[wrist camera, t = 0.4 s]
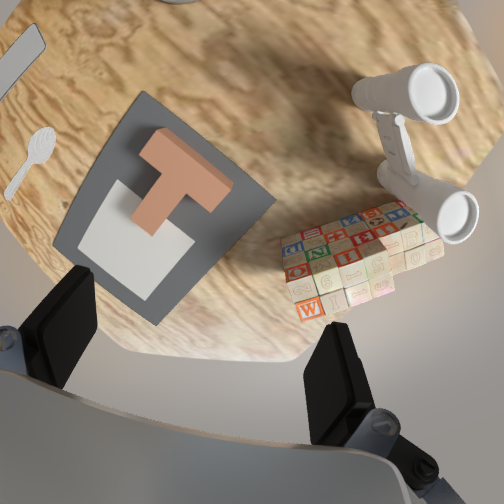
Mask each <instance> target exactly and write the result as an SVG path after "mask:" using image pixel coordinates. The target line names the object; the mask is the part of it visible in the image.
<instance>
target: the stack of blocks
mask: <svg viewBox="0 0 504 504" xmlns="http://www.w3.org/2000/svg"><path fill="white" fill-rule="evenodd" d="M281 245H282V254H283V268H284V272H285V276H286V284H287V286H288V289H289V292H290V294H291V297H292V300H293V302H294V303H295V307H296V310H297V312H298V315H299V317H300V320H301V322H304V321H307V320H310V319H313V318H317V317H320V316H323V315H329V314H333V313H335V312H338V311H341V310H344V309H347V308H349V307H353V306H356V305H358V304H361V303H364V302H366V301H369V300H371V299H372V298H376V297H379V296H382V295H385V294H387V293H389V292H392V291H394V290H395V288H394V283H393V277H392V276H394V275H396V274H399V273H401V272H404V271H408V270H411V269H414V268H416V267H419V266H421V265H424V264H425V263H427V262H430V261H433V260H435V259H438V258H440V257H443V256H444V246H443V240H442V239H441V238H440V237H439V236H438V235H437V234H436V233H435V232H434V231H433V230H431V229H430V228H429V227H428V226H427V225H426V224H425V223H424V221H423V220H422V219H421V217H420V216H419V215H418V213H417V212H416V211H415V210H413V209H412V208H410V207H408V206H407V205H406V204H405V203H404V202H403V201H401V200H399V201H396V202H391V203H388V204H385V205H382V206H379V207H376V208H372V209H369V210H366V211H363V212H360V213H359V214H355V215H352V216H349V217H346V218H343V219H340V220H338V221H335V222H332V223H329V224H326V225H323V226H318V227H315V228H312V229H309V230H306V231H303V232H300V233H296V234H293V235H290V236H287V237H284V238H281Z"/></svg>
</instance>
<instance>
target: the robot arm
mask: <svg viewBox="0 0 504 504" xmlns="http://www.w3.org/2000/svg"><path fill="white" fill-rule="evenodd" d="M161 1H164V2H167V3H172V4H187V3H193V2H197V1H200V0H161ZM96 330H97V313H96V301H95V287H94V274H93V273H92V272H91V270H90V268H88V267H85V266H81V265H75V266H74V267H73V268H72V269H71V270H70V271H69V272H68V273H67V274H66V275H65V276H64V277H63V278H62V280H61V281H60V282H59V283H58V284H57V285H56V286H55V287H54V288H53V289H52V290H51V291H50V293H49V294H48V295H47V296H46V297H45V298H44V299H43V300H42V302H41V303H40V304H39V305H38V306H37V307H36V308H35V309H34V311H33V312H32V313H31V314H30V315H29V316H28V318H27V319H26V320H25V321H24V322H23V324H22V325H21V326H20V327H19V329H18V330H17V329H16V328H14V327H12V326H1V327H0V504H466V503H465V502H464V501H463V500H462V499H461V498H460V496H459V495H458V494H457V493H456V492H455V490H454V489H453V488H452V487H451V486H450V485H449V483H448V482H447V481H446V480H445V479H444V478H441V479H440V478H439V477H438V474H439V468H438V465H437V462H436V461H435V459H433V458H432V457H431V456H430V455H428V454H427V453H425V452H424V451H422V450H421V449H420V448H418V447H417V446H415V445H414V444H413V443H411V442H410V441H408V440H407V439H405V438H404V437H402V436H401V435H400V430H401V425H400V422H399V420H398V418H397V417H396V416H395V415H394V414H393V413H392V412H391V411H389V410H386V409H383V408H376V407H375V404H374V400H373V397H372V394H371V390H370V387H369V384H368V381H367V378H366V374H365V371H364V368H363V365H362V362H361V360H360V358H358V355H357V352H356V349H355V346H354V343H353V340H352V336H351V334H350V331H349V328H348V325H347V324H346V323H340V322H332V323H331V324H328V325H326V327H325V329H324V331H323V333H322V336H321V338H320V340H319V342H318V344H317V346H316V348H315V350H314V352H313V354H312V356H311V358H310V360H309V362H308V364H307V366H306V368H305V370H304V375H303V378H304V387H305V395H306V402H307V403H306V404H307V412H308V422H309V431H310V440H311V444H312V445H305V444H293V443H283V442H271V441H263V440H254V439H247V438H240V437H233V436H227V435H221V434H215V433H209V432H204V431H199V430H194V429H189V428H185V427H180V426H175V425H171V424H167V423H163V422H159V421H155V420H152V419H148V418H144V417H141V416H137V415H133V414H130V413H127V412H123V411H120V410H117V409H114V408H111V407H108V406H104V405H101V404H99V403H96V402H93V401H91V400H88V399H85V398H82V397H80V396H77V395H74V394H72V393H69V392H67V391H64V390H62V389H63V387H64V386H65V384H66V382H67V380H68V378H69V377H70V375H71V373H72V371H73V369H74V368H75V366H76V364H77V362H78V361H79V359H80V357H81V356H82V354H83V352H84V350H85V349H86V347H87V345H88V344H89V342H90V340H91V339H92V337H93V335H94V334H95V332H96Z"/></svg>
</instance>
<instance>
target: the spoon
mask: <svg viewBox="0 0 504 504" xmlns="http://www.w3.org/2000/svg"><path fill="white" fill-rule="evenodd" d="M55 140H56V135H55V131H54V129H53V128H51V127H44V128H41V129H39V130H38V131H37V132H35V133H34V135H33V136H32V137H31V139H30V141H29V144H28V159H27V160H26V162H25V163H24V164H23V165H22V167H21V168H20V169H19V170H18V172H17V174H16V175H15V176H14V178H13V179H12V181H11V182H10V183H9V185H8V186H7V188H6V189H5V193H4V196H5V198H6V199H7V200H9V201H10V200H11V199H12V197H13V195H14V194H15V192H16V190H17V188H18V186H19V185H20V183H21V181H22V180H23V178H24V176H25V175H26V173H27V171H28V170H29V168H30V166H31V165H32V164H42V163H44V162H45V161H46V160H48V158H49V157H50V155H51V153H52V151H53V148H54V145H55Z"/></svg>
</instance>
